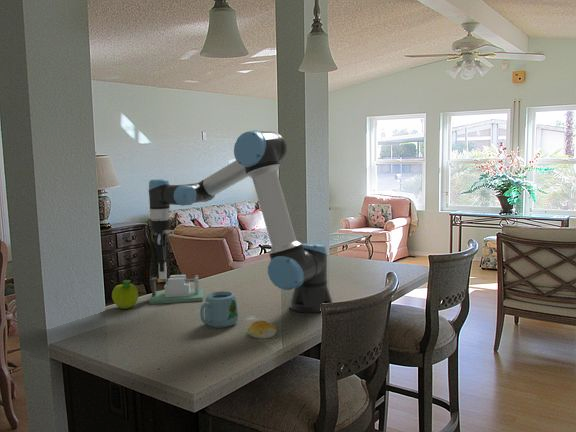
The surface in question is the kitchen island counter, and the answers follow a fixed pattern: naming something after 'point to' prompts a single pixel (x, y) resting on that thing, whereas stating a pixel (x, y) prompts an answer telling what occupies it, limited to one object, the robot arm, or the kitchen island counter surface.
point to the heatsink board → (177, 299)
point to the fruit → (125, 295)
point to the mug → (220, 310)
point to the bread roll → (261, 330)
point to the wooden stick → (184, 279)
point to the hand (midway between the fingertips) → (162, 278)
